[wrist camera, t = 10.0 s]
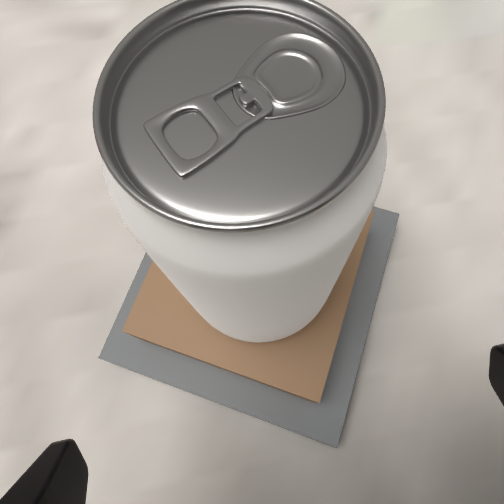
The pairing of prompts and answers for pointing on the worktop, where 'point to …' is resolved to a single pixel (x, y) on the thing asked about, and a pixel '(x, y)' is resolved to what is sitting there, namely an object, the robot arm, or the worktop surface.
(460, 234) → the worktop surface
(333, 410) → the plinth
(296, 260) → the can
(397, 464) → the worktop surface
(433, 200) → the worktop surface
